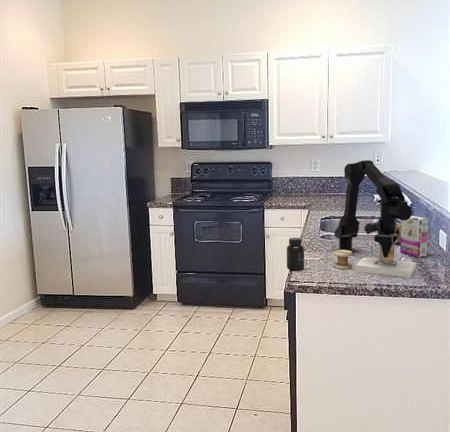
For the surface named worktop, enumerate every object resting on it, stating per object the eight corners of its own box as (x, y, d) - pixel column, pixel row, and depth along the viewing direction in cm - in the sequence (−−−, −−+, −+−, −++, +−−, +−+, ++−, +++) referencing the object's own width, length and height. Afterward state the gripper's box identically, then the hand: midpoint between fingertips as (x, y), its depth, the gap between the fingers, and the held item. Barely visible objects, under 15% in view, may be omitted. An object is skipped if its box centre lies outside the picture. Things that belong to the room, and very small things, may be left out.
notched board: (363, 263, 194) (363, 257, 194) (415, 268, 185) (416, 262, 184) (354, 271, 183) (355, 265, 183) (410, 278, 174) (410, 271, 173)
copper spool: (381, 259, 189) (381, 240, 187) (394, 261, 186) (395, 241, 185) (378, 263, 184) (378, 242, 183) (392, 264, 182) (393, 244, 180)
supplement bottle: (302, 265, 193) (302, 236, 191) (305, 270, 186) (305, 240, 184) (285, 266, 192) (285, 237, 190) (288, 271, 186) (288, 241, 184)
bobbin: (336, 263, 195) (336, 249, 194) (353, 265, 191) (354, 250, 190) (331, 267, 189) (331, 253, 188) (349, 270, 185) (349, 254, 184)
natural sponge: (388, 244, 224) (389, 223, 223) (395, 241, 231) (396, 220, 229) (407, 247, 219) (408, 225, 217) (414, 243, 225) (415, 222, 224)
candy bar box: (428, 256, 202) (429, 218, 199) (418, 258, 200) (420, 219, 197) (408, 251, 212) (409, 214, 209) (399, 252, 210) (400, 215, 207)
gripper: (372, 211, 194) (370, 248, 197) (360, 218, 178) (359, 259, 181) (401, 212, 189) (399, 251, 191) (392, 220, 173) (390, 262, 175)
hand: (386, 255), depth 185 cm, fingers closed on copper spool, 5 cm apart
